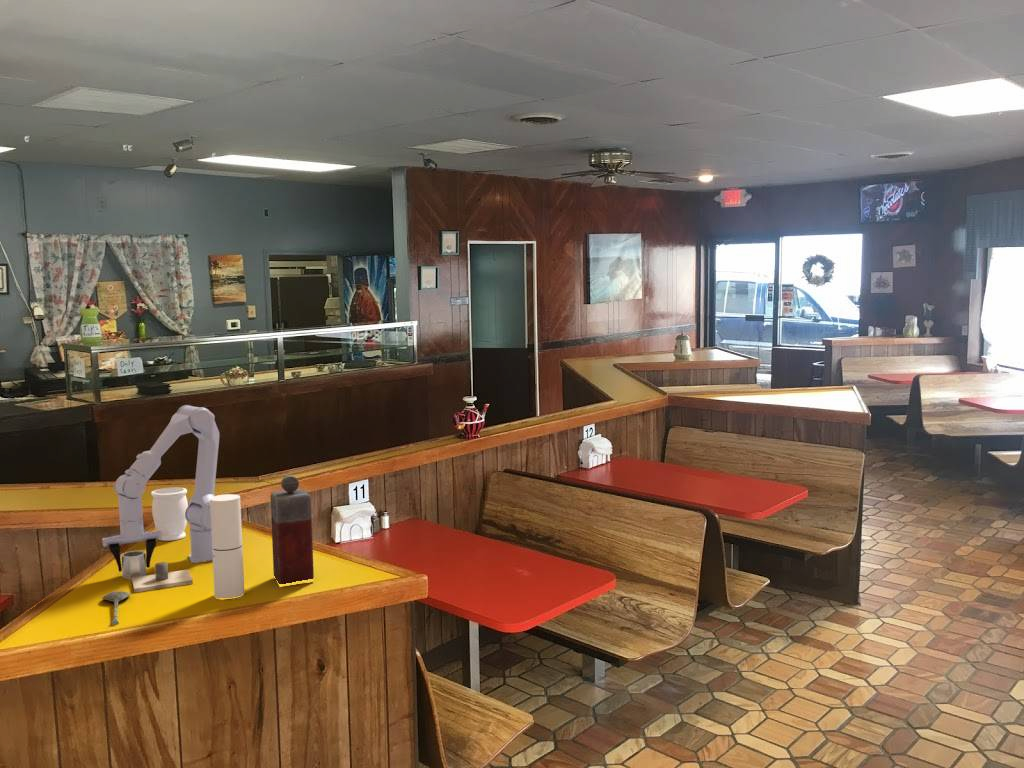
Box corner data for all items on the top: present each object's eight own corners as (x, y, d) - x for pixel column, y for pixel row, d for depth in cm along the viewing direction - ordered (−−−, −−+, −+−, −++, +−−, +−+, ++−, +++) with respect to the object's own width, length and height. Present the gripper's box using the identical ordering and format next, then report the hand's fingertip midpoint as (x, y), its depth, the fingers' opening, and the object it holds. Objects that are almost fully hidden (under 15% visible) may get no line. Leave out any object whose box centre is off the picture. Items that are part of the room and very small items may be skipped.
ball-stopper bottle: (305, 570, 236) (301, 469, 233) (314, 582, 226) (310, 477, 223) (272, 575, 232) (268, 472, 229) (279, 587, 222) (275, 480, 219)
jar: (196, 536, 272) (194, 489, 270) (168, 544, 263) (165, 495, 261) (175, 531, 277) (172, 485, 276) (146, 539, 269) (143, 491, 267)
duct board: (187, 573, 235) (187, 555, 234) (192, 583, 226) (191, 565, 225) (131, 581, 228) (130, 562, 228) (134, 592, 219) (133, 573, 219)
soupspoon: (131, 597, 219) (103, 602, 217) (130, 584, 219) (102, 589, 216) (129, 624, 199) (98, 630, 196) (128, 610, 199) (96, 615, 196)
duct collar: (145, 570, 237) (144, 549, 236) (147, 576, 232) (145, 555, 231) (122, 574, 234) (120, 552, 234) (123, 580, 229) (122, 558, 229)
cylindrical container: (227, 602, 212) (222, 502, 209) (208, 597, 215) (203, 498, 213) (250, 593, 218) (246, 496, 215) (231, 588, 222) (226, 493, 219)
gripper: (158, 512, 238) (161, 560, 240) (100, 519, 232) (103, 568, 233) (161, 518, 232) (164, 567, 234) (101, 525, 226) (105, 576, 227)
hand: (134, 568), depth 233 cm, fingers open, 6 cm apart
